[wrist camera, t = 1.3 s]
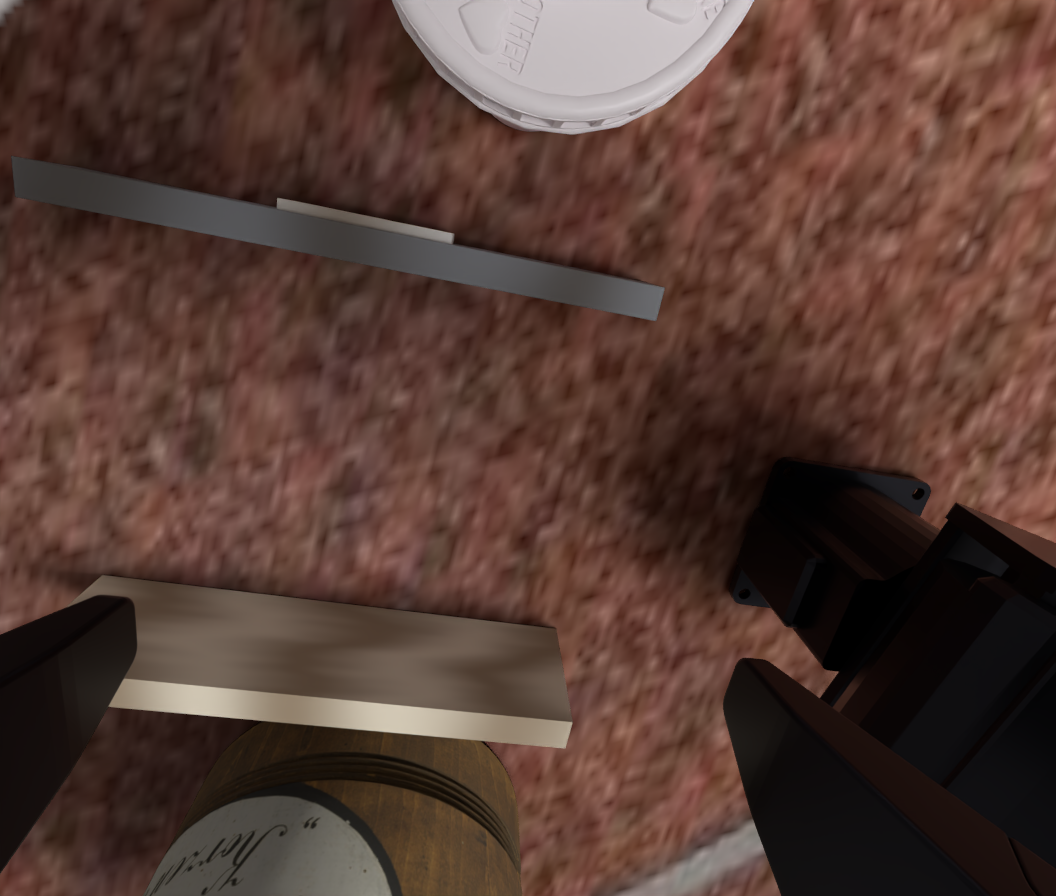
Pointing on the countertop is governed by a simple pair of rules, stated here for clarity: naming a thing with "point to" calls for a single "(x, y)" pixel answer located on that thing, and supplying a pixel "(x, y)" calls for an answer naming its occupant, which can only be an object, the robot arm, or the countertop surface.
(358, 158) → the countertop surface
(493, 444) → the countertop surface
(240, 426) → the countertop surface
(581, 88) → the smoothie
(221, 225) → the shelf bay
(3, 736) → the robot arm
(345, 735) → the wooden container
